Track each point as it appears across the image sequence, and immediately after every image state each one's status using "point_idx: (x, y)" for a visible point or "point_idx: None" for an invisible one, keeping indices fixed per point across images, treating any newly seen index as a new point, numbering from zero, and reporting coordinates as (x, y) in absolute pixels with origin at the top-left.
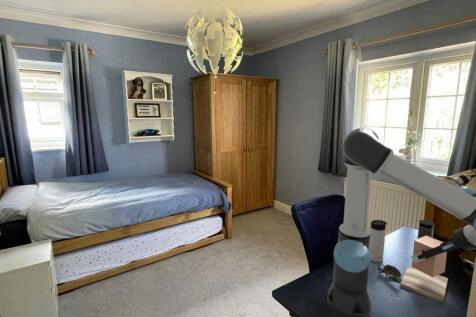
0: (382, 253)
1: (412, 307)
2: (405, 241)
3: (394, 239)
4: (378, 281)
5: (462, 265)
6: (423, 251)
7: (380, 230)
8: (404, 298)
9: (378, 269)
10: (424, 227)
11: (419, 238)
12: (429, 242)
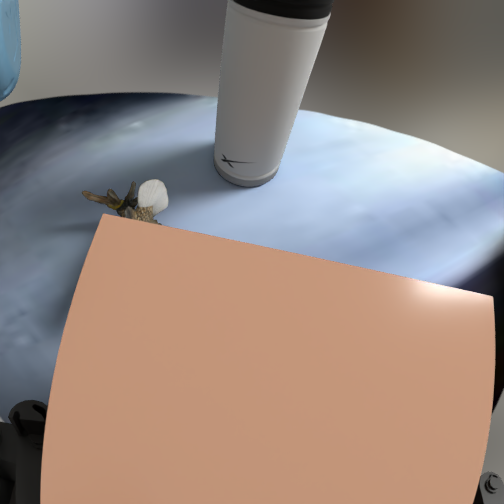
0: (250, 152)
1: (11, 401)
2: (475, 202)
3: (453, 170)
4: (76, 239)
5: (493, 406)
6: (17, 428)
7: (244, 6)
8: (36, 363)
9: (96, 200)
10: None
11: (290, 259)
12: (251, 499)
